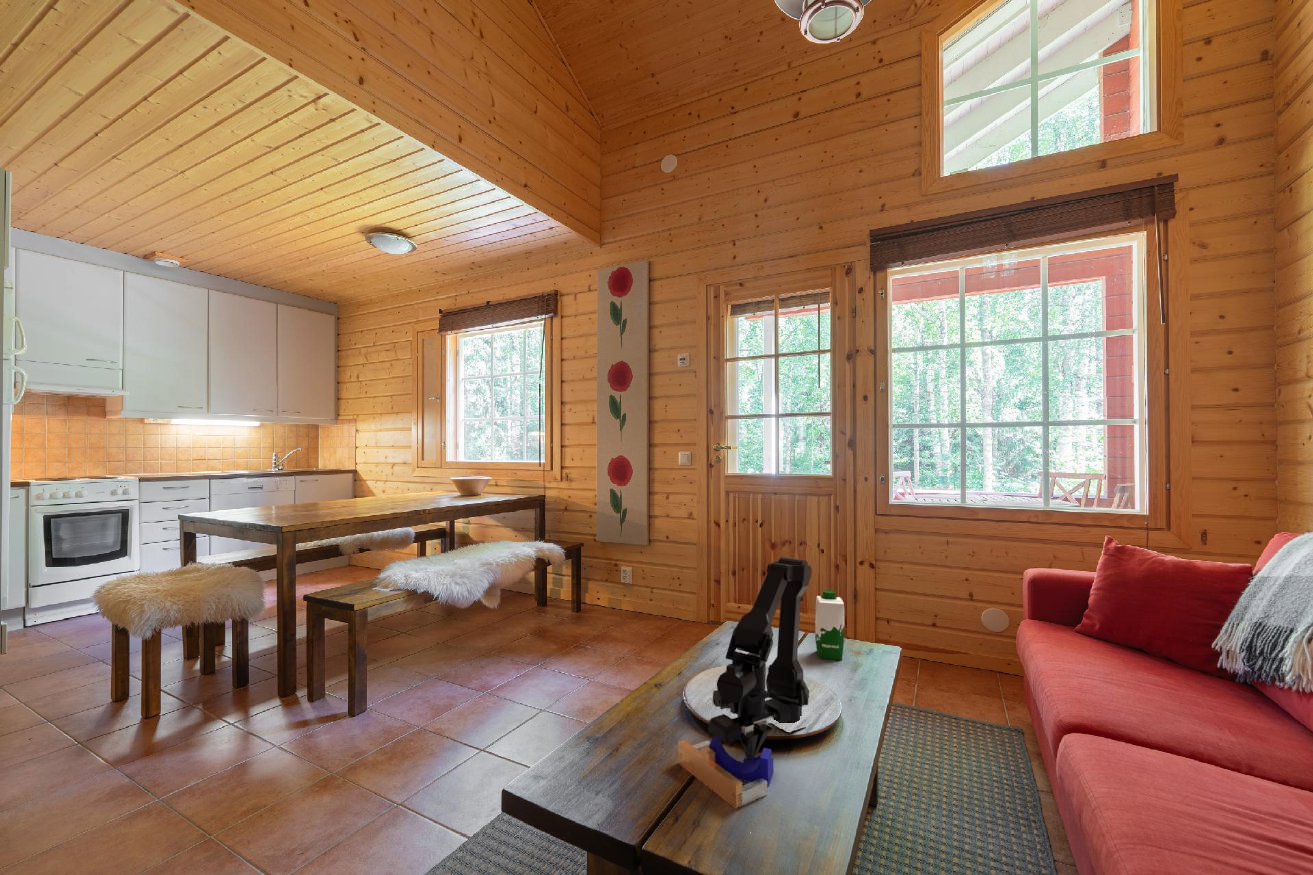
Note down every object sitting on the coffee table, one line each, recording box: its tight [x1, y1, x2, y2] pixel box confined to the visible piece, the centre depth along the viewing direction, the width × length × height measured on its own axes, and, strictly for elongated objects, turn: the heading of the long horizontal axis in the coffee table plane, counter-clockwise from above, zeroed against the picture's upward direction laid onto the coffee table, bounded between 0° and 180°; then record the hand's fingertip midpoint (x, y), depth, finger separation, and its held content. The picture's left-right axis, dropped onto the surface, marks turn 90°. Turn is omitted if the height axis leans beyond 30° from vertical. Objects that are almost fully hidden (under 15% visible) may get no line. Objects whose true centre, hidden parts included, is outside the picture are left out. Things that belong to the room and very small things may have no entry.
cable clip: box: [709, 735, 774, 788], centre depth 115 cm, size 12×4×6 cm, turn 66°
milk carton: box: [814, 589, 845, 661], centre depth 183 cm, size 9×9×20 cm
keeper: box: [677, 739, 768, 810], centre depth 114 cm, size 8×18×6 cm, turn 34°
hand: (749, 760), depth 119 cm, fingers closed
